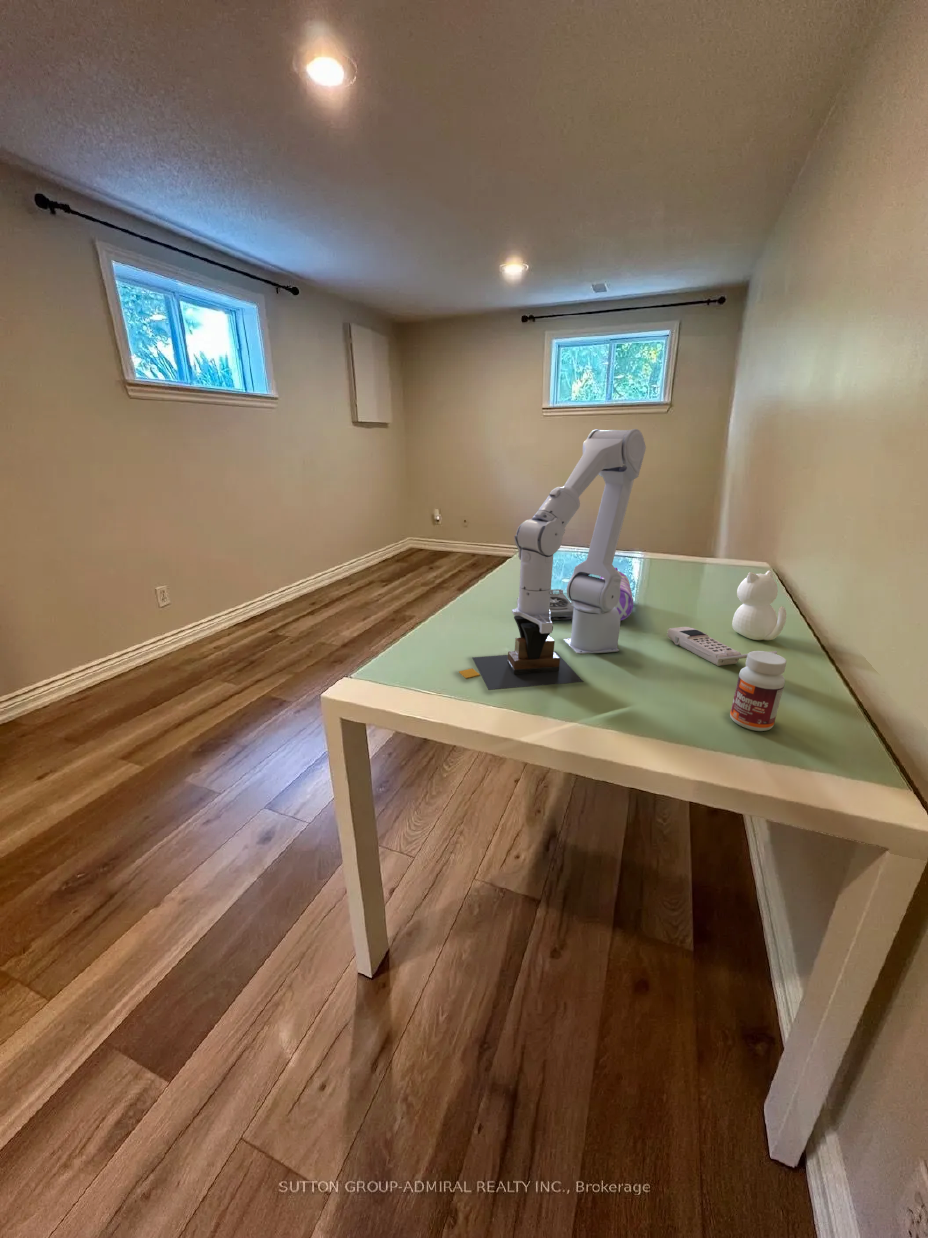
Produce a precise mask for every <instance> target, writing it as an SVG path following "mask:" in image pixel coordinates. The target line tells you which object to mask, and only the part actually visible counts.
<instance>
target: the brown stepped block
mask: <svg viewBox="0 0 928 1238" xmlns="http://www.w3.org/2000/svg"><path fill="white" fill-rule="evenodd" d="M555 643H556V640H555V639H554V638H552V636H551V635H549V636H548V637H547V639H546V641H545V644H544V646H543V649H542V652H541V655H540V658H539V659H529V658H528V656H527V647H526V638H525V637H515V640H514V650H509V651H507V655H508V661H507V665H508V666H509V668H510V669H511V671H512V672H513V674H526V673H542V672H557V671H559V664H560V658H559V656H558V655H557V654H556V653H555Z"/></svg>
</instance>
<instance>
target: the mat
mask: <svg viewBox="0 0 928 1238" xmlns="http://www.w3.org/2000/svg"><path fill="white" fill-rule="evenodd" d="M554 652H555V653H556V654H557V655H558V656H559V658H560V664H559V671H557V672H542V673H526V674H513V672H512V671H511V669H510V668H509V666H508V665H507V661H508V654H502V655H500V654H499V655H487V656H485V655H484V656H474V657H473V656H472V657H471V659H472V660H473V662H474V664H475V667H476V668H477V671H478V673H479V674H480V676H481V678H482V680H483V682H484V685H485V686H486V688H487V690H488V691H493V690H506V689H518V688H528V687H541V686H552V685H563V684H564V685H565V684H576V683H584V680H583V679H582V678H581V677H580V676H579V675H578V673H576V671H574V669H573V668H572V667H571V666H570V665H569V664H568V662H566V661H565V660H564V658H563V657H562V656H561V655H560V654H559V653H558V652H557V651H555V650H554Z"/></svg>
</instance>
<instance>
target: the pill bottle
mask: <svg viewBox="0 0 928 1238" xmlns="http://www.w3.org/2000/svg"><path fill="white" fill-rule="evenodd" d="M771 652H772V651H765V650H752V651H749V652H748V653H747V654H748V656H747V658H746V660H745V666H744V667H742V668H741V669H740V671H739V673H738V676H737V677H738V678H737V682H736V685H735V691H734V695H733V699H732V704H731V707H730V712H729V716H730V719H731V720H732V722H734V723H735V724H736V725H739V726H740V727H742V728H744V729H747V730H750V731H755V732H756V731H757V732H763V731H764V732H765V731H769V730H771V729H773V727H774V725H775V722H776V718H777V714H778V712H779V711H778V710H779V706H780V703H781V699H782V696H783V692H784V688H785V683H786V678H785V677H784V675H783V674H784V673H785V672H786V671H785V670H786V666H787V659H786V658H785V657H784V656H781V655H779V654H774V653H771Z"/></svg>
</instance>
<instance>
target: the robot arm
mask: <svg viewBox="0 0 928 1238" xmlns="http://www.w3.org/2000/svg"><path fill="white" fill-rule="evenodd" d="M646 449H647V446H646V441H645V438H644V436H643V433H642V432H641V430H639V429H638V428H632V429H608V430H605V429H593V430H592V431H590V432H589V434H588V436H587V438H586V439H585V440H584V441H583V443H582V455H581V457H580V459H579V460H578V461H577V463H576V465H575V467H574V468H573V470H572V471H571V473H570V475H569V476H568V478H567V480H566V481H565V483H564V484H563V486H556V487H555V488H553V489H551V491H549V494H548V496H547V497H546V499H544V501H543V502H542V504H541V505H540V506H539V508H538V510H537V511H536V512H535V513H534V515H533V516H532V518H528V519H525V520H524V521H522V523H521V524H519V526H518V527H517V530H516V534H515V535H514V538H513V539H514V544H515V547H516V549H517V552H518V555H517V556H518V558H519V560H520V570H519V588H518V589H519V590H518V592H519V593H518V598H517V599H516V608H512V609H511V614H513V616H514V617H513V620H514V621H515V624H516V626H517V629H518V632H519V638H521V637H525V638H526V647H527V656H528V658H529V659H539V658H540V655H541V652H542V649H543V646H544V644H545V641H546V639H547V637H548V636H550V635H551V634H552V633H553V631H554V622H553V620H551V612H550V609H549V608H550V595H551V590H552V582H553V581H552V579H553V567H554V555H555V554H556V553H557V552H558V550H559V549H560V548H561V546H562V543H563V538H564V535H565V532H566V527H567V525H568V524H569V523H570V521H571V520H572V519H573V517H574V516H575V514H576V513H577V511H578V510H579V509H580V507H581V500H580V497H581V495H582V494H583V493H584V492H585V491H586V490H587V489H588V488H589V486H590V485H591V484H592V483H593V481H594V480H595V479H596V478H597V477H598V476H600V477H602V479H603V481H604V489H603V492H602V495H601V501H600V503H599V508H598V512H597V517H596V520H595V524H594V528H593V532H592V535H591V537H592V538H591V540H590V544H589V548H588V551H587V557H586V559H585V560H583V561H582V562H580V563H579V564H577V565H575V566H574V568H573V571H572V574H571V577H570V578H569V580H568V582H567V585H566V597H567V599H568V600H569V601H570V602H571V605H572V606H574V610H573V619H572V620H571V621H572V622H571V632H570V633H571V634H570V637H567V638H563V642H564V643H565V644H566V645H568V647H570V648H571V649H572V650H573V652H574V653H576V654H578V655H580V654H581V655H584V654H605V653H617V652H619V651H620V649H619V647H618V646H619V645H618V644H619V637H620V631H621V630H620V629H621V621H620V615H619V612H618V610H617V609H616V608H615V606H616V605H617V603H618V601H619V598H620V584H621V579H622V577H621V575H620V574H619V573H618V571H619V570H618V571H617V570H616V569H615V568H616V567H615V566H614V565H613V562H614V560H615V555H616V551H617V548H618V544H619V540H620V536H621V532H622V528H623V525H624V521H625V518H626V517H625V516H626V513H627V508H628V505H629V503H630V502H629V501H630V497H631V494H632V491H633V490H632V489H633V486H634V481H635V479H637V478H639V477H640V472H641V469H642V465H643V462H644V457H645V453H646ZM591 575H593V576H591ZM596 576H598V577H596ZM600 577H603V578H604V579H600Z"/></svg>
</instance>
